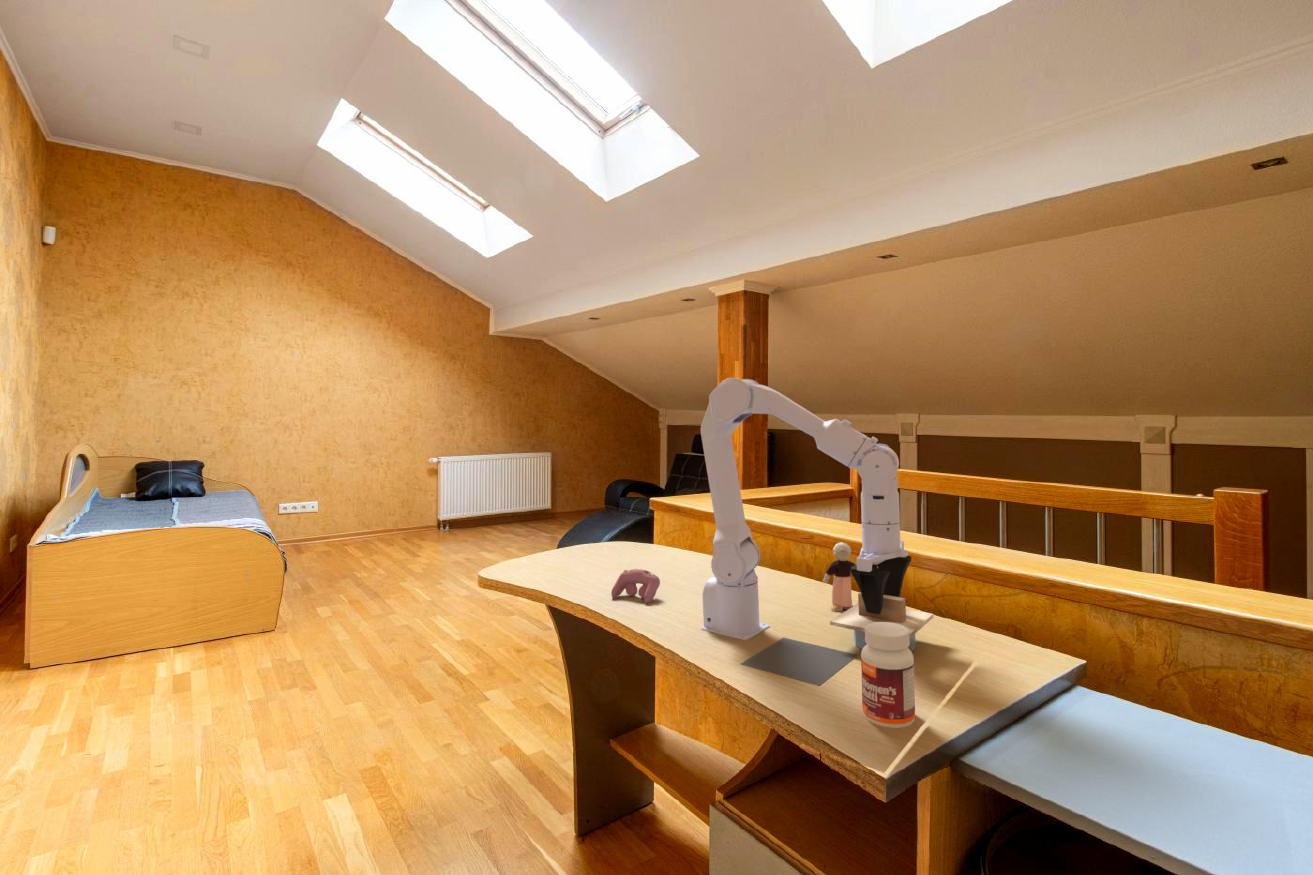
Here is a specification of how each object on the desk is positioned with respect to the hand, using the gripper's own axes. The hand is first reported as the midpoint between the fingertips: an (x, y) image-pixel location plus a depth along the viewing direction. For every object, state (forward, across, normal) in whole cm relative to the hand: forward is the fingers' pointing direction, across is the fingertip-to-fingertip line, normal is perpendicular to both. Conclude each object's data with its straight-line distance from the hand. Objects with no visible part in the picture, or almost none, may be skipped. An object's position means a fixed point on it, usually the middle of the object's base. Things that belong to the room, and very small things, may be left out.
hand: (883, 606), depth 100 cm
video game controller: (+7, -3, +52) cm, 52 cm away
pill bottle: (+7, -22, -9) cm, 25 cm away
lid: (+2, 0, 0) cm, 3 cm away
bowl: (+6, 0, 0) cm, 6 cm away
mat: (+6, -13, +8) cm, 17 cm away
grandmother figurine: (+7, +14, +13) cm, 20 cm away
